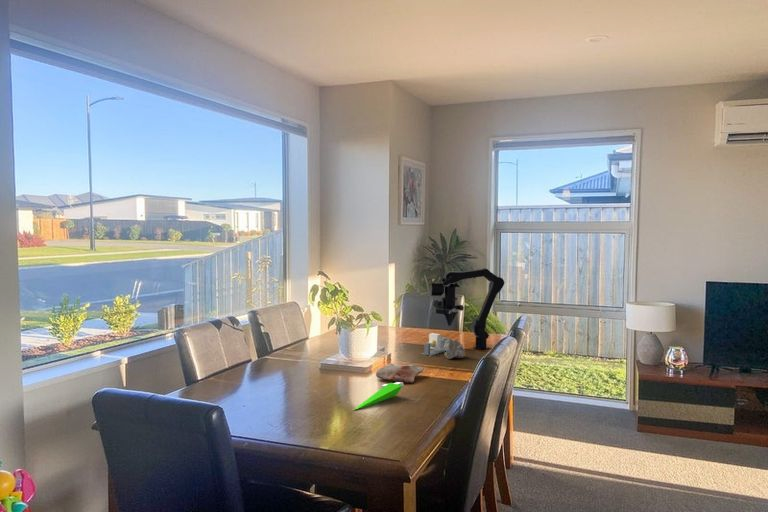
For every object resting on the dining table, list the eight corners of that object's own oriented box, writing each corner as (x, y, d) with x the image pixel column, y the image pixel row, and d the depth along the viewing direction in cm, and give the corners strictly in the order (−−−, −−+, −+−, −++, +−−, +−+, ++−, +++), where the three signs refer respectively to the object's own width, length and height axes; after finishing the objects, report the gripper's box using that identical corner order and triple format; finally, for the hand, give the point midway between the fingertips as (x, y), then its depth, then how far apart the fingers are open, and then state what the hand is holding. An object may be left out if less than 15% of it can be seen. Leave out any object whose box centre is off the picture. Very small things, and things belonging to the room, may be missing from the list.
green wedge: (364, 421, 193) (407, 393, 212) (359, 406, 193) (402, 379, 212) (342, 423, 201) (386, 396, 220) (337, 409, 201) (381, 383, 220)
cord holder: (441, 347, 297) (441, 335, 297) (451, 349, 294) (451, 336, 293) (421, 354, 282) (421, 341, 282) (431, 356, 279) (431, 342, 278)
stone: (421, 391, 230) (422, 378, 245) (423, 376, 229) (424, 364, 244) (373, 383, 231) (377, 370, 246) (375, 368, 230) (379, 356, 245)
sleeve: (432, 347, 289) (432, 333, 289) (440, 348, 286) (440, 334, 286) (428, 348, 287) (429, 333, 286) (437, 349, 284) (437, 335, 283)
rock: (465, 364, 275) (465, 346, 281) (461, 353, 266) (461, 334, 272) (447, 365, 277) (447, 347, 283) (442, 354, 268) (442, 335, 274)
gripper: (446, 292, 305) (445, 321, 305) (426, 296, 290) (426, 326, 291) (464, 294, 298) (463, 323, 299) (445, 298, 283) (445, 329, 284)
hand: (449, 325), depth 293 cm, fingers closed
